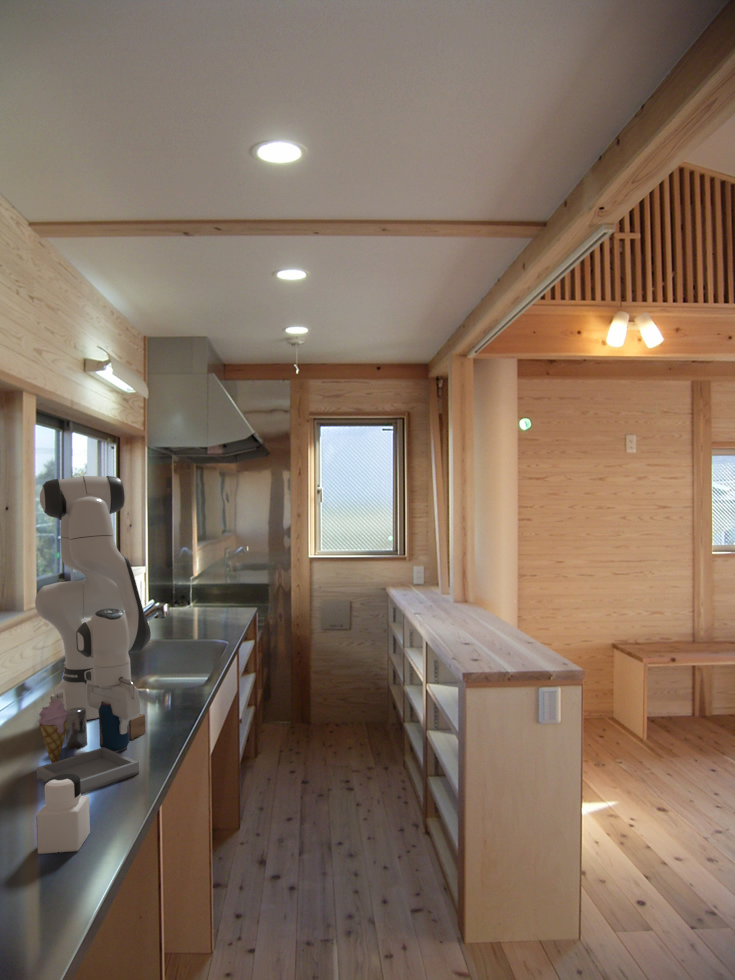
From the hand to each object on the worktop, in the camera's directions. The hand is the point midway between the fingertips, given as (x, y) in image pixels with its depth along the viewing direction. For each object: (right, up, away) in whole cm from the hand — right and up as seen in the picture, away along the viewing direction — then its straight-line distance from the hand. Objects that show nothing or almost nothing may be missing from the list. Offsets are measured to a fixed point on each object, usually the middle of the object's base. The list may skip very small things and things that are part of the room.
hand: (114, 730), depth 180 cm
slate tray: (0, -5, -18) cm, 18 cm away
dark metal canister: (-11, -5, +3) cm, 12 cm away
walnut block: (+1, -5, +10) cm, 11 cm away
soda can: (0, -5, 0) cm, 5 cm away
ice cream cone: (-11, -5, -9) cm, 15 cm away
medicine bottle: (+8, -4, -49) cm, 50 cm away
